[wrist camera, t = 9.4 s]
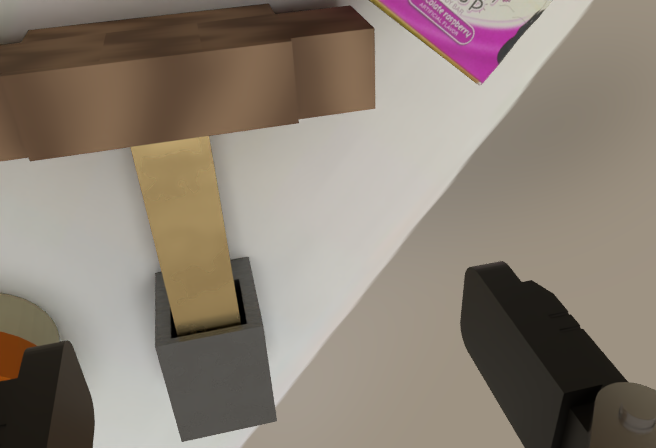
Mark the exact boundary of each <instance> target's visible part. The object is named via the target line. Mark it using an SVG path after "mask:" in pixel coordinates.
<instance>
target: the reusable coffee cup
mask: <svg viewBox="0 0 656 448" xmlns="http://www.w3.org/2000/svg"><path fill="white" fill-rule="evenodd" d="M57 342H59V334H58V331H57V327H56V326H55V324H54V322H53V320H52V319H51V318H50V317H49V316H48V315H47V313H46V312H45V311H43V310H42V309H41V308H39V307H38V306H37V305H35V304H33V303H31V302H29V301H27V300H25V299H22V298H19V297H16V296H13V295H8V294H2V293H0V381H4V380H10V379H15V378H18V374H19V370H20V366H21V362H22V357H23V354H24V351H25V350H26V349H27V348H30V347H35V346H41V345H46V344H51V343H57Z"/></svg>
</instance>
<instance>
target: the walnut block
mask: <svg viewBox="0 0 656 448" xmlns="http://www.w3.org/2000/svg"><path fill="white" fill-rule="evenodd" d="M368 109H375V40H374V27H372V26H371V25H370V24H369V23H368V22H367V21H366V20H365V19H364V18H363V17H362V16H361V15H360V14H359V13H358V12H357V11H356V10H355V9H354V8H352V7H351V6H341V7H332V8H323V9H314V10H306V11H297V12H288V13H279V14H275V13H274V11H273V10H272V8H271V6H270V5H269V4H261V5H252V6H243V7H234V8H225V9H216V10H207V11H198V12H189V13H180V14H171V15H162V16H153V17H144V18H135V19H126V20H116V21H107V22H98V23H89V24H80V25H71V26H62V27H53V28H44V29H35V30H28V32H27V34H26V35H25V37H24V39H23V40H22V42H21V43H14V44H5V45H0V161H7V160H14V159H21V158H28V157H29V160H30V161H35V160H42V159H50V158H57V157H64V156H71V155H78V154H85V153H92V152H99V151H106V150H113V149H120V148H127V147H134V146H141V145H148V144H155V143H162V142H169V141H176V140H183V139H190V138H197V137H204V136H211V135H218V134H225V133H232V132H239V131H246V130H253V129H260V128H268V127H275V126H282V125H289V124H296V123H299V121H298V119H304V118H311V117H318V116H325V115H332V114H340V113H347V112H354V111H361V110H368Z"/></svg>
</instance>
